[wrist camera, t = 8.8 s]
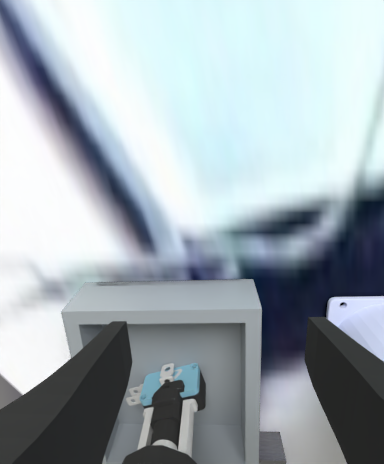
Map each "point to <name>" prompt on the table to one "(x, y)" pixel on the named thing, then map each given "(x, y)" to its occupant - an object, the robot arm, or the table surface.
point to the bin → (183, 355)
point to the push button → (168, 414)
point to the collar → (271, 448)
